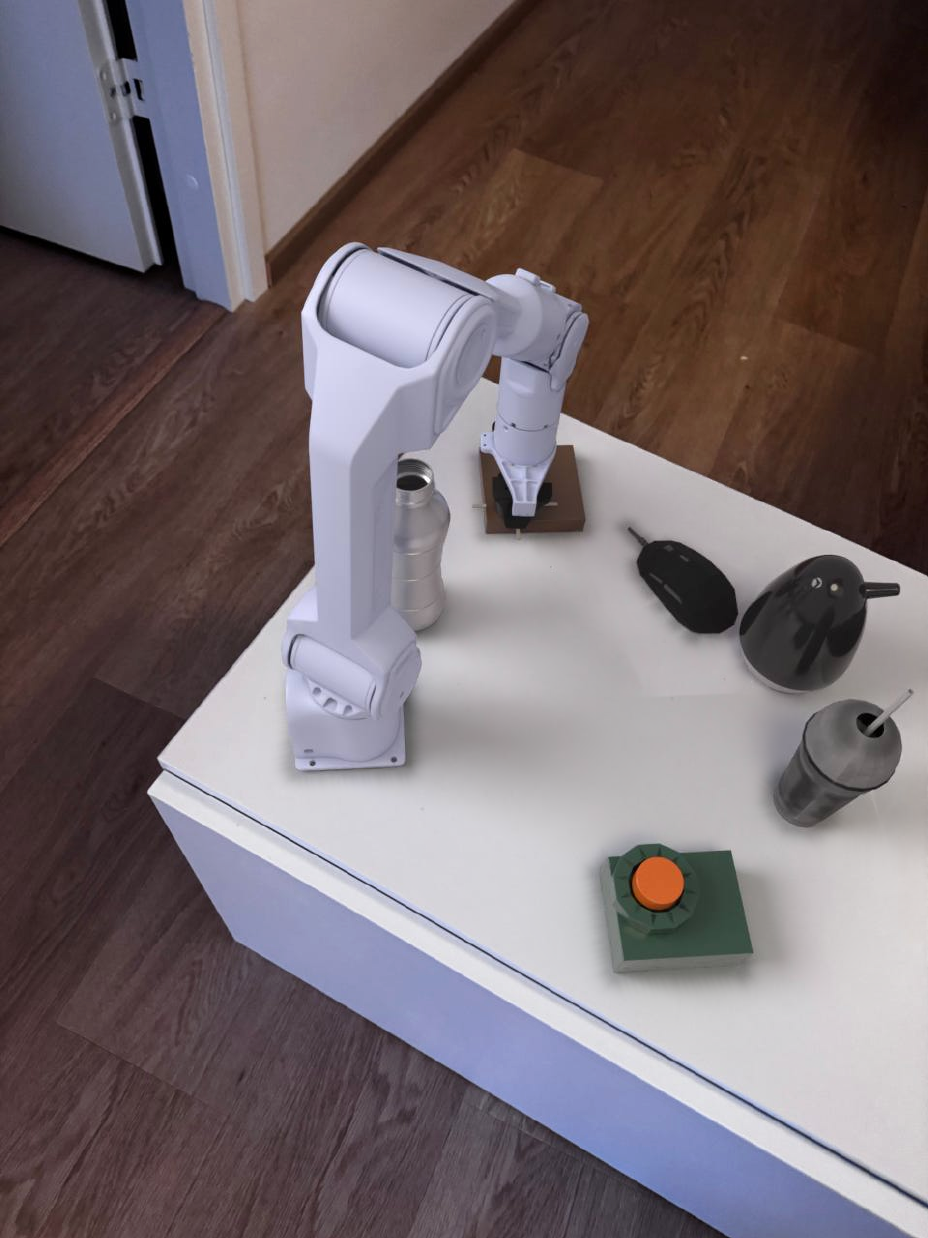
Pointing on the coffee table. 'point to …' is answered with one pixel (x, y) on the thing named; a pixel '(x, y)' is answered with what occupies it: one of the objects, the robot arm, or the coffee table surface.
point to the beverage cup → (839, 760)
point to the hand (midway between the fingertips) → (515, 504)
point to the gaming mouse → (688, 585)
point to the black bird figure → (808, 624)
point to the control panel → (551, 517)
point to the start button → (657, 883)
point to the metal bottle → (418, 545)
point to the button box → (676, 914)
